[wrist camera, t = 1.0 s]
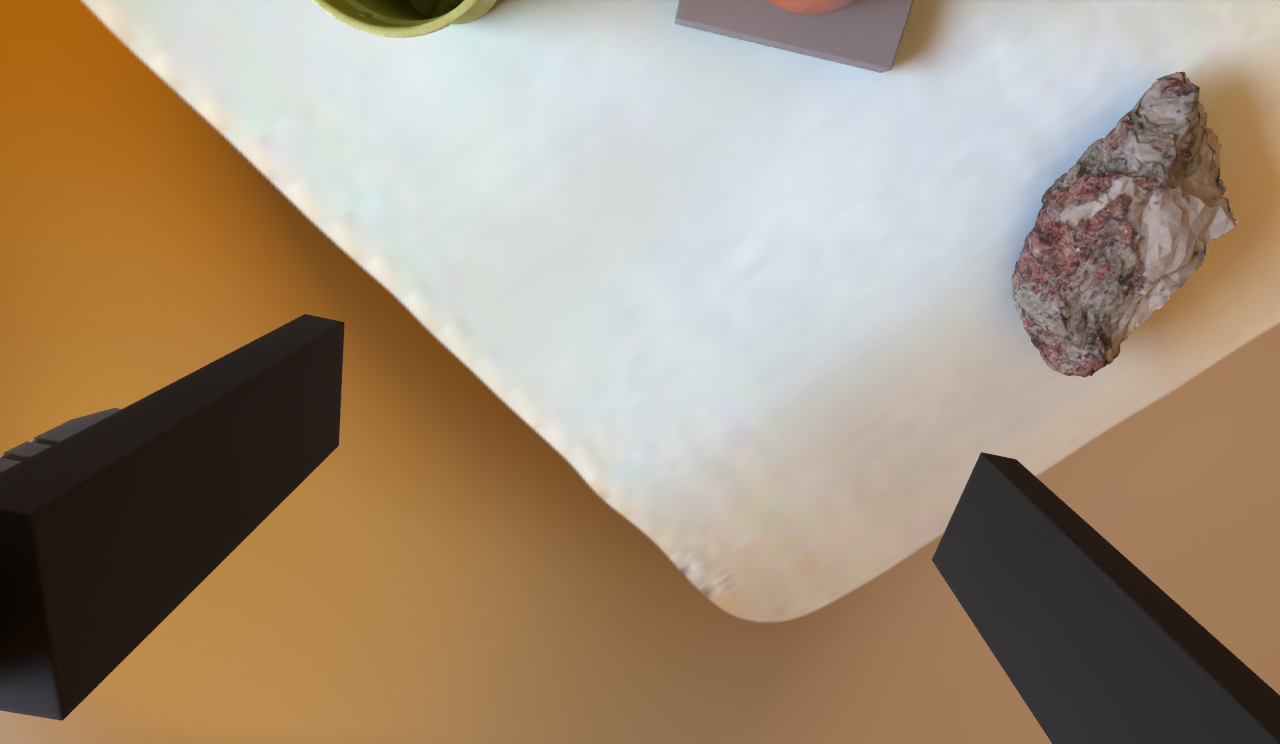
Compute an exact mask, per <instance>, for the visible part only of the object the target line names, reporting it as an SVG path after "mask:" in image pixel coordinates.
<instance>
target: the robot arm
mask: <svg viewBox="0 0 1280 744" xmlns="http://www.w3.org/2000/svg"><path fill="white" fill-rule="evenodd" d="M343 342H344V322H340V321H336V320H331V319H326V318H321V317H316V316H311V315H306V314H304V315H302V316H301V317H299V318H297V319H295V320H293V321H291V322H289V323H287V324H285V325H283V326H281V327H279V328H277V329H276V330H274V331H272V332H270V333H268V334H266V335H264V336H262V337H260V338H258V339H256V340H254V341H252V342H250V343H249V344H247V345H245V346H243V347H241V348H239V349H237V350H235V351H233V352H231V353H229V354H227V355H225V356H224V357H222V358H220V359H218V360H216V361H214V362H212V363H210V364H208V365H206V366H204V367H203V368H200V369H199V370H197V371H195V372H193V373H191V374H189V375H187V376H185V377H183V378H181V379H180V380H178V381H176V382H174V383H172V384H170V385H168V386H166V387H164V388H162V389H160V390H158V391H156V392H154V393H153V394H151V395H149V396H147V397H145V398H143V399H141V400H139V401H137V402H135V403H133V404H131V405H129V406H128V407H126V408H124V409H118V408H113V409H109V410H105V411H102V412H98V413H95V414H91V415H87V416H83V417H80V418H76V419H73V420H69V421H67V422H66V423H63V424H62V425H59V426H57V427H55V428H53V429H51V430H49V431H47V432H45V433H43V434H41V435H39V436H37V437H35V438H34V441H33V442H25V443H23V444H21V445H19V446H17V447H15V448H13V449H11V450H9V451H7V452H4V453H3V456H2V457H1V458H0V710H1V711H8V712H13V713H19V714H26V715H32V716H38V717H44V718H50V719H56V720H63V719H65V718H66V717H67V716H68V715H69V714H70V713H71V712H72V711H73V710H74V709H75V708H76V706H78V705H79V704H80V703H81V702H82V701H83V700H84V699H85V698H86V697H87V696H88V695H89V694H90V693H91V692H92V691H93V690H94V689H95V688H96V687H97V686H98V684H100V683H101V682H102V681H103V680H104V679H105V678H106V677H107V676H108V675H109V674H110V673H111V672H112V671H113V670H114V669H115V668H116V667H117V666H118V665H119V664H120V663H121V662H122V661H123V660H124V659H125V658H126V657H127V656H128V655H129V654H130V653H131V652H132V651H133V650H134V649H135V648H136V647H137V646H138V645H139V644H140V643H141V642H142V641H143V640H144V639H145V638H146V637H147V636H148V635H149V634H150V633H151V632H152V631H153V630H154V629H155V628H156V627H157V626H158V625H159V624H160V623H161V622H162V621H163V620H164V619H165V618H166V617H167V616H168V615H169V614H170V613H171V612H172V611H173V610H174V609H175V608H176V607H177V606H178V605H179V604H180V603H181V602H182V601H183V600H184V599H185V598H186V597H187V596H188V595H189V594H190V593H191V592H192V591H193V590H194V589H195V588H196V587H197V586H198V585H199V584H200V583H201V582H202V581H203V580H204V579H205V578H206V577H207V576H208V575H209V574H210V573H211V572H212V571H213V570H214V569H215V568H216V567H217V566H218V565H219V564H220V563H221V562H222V561H223V560H224V559H225V558H226V557H227V556H228V555H229V554H230V553H231V552H232V551H233V550H234V549H235V548H236V547H237V546H238V545H239V544H240V543H241V542H242V541H243V540H244V539H245V538H246V537H247V536H248V535H249V534H250V533H251V532H252V531H253V530H254V529H255V528H256V527H257V526H258V525H259V524H260V523H261V522H262V521H263V520H264V519H265V518H266V517H267V516H268V515H269V514H270V513H271V512H272V511H273V510H274V509H275V508H276V507H277V506H278V505H279V504H280V503H281V502H282V501H283V500H285V498H286V497H288V496H289V494H291V493H292V491H294V490H295V489H296V488H297V487H298V486H299V485H300V484H301V483H302V481H304V479H306V478H307V477H308V476H309V475H310V474H311V472H313V470H314V469H316V467H318V466H319V465H320V464H321V463H322V462H323V461H324V460H325V459H326V458H327V457H328V455H329V454H331V452H333V451H334V450H335V449H336V448H337V447H338V445H339V429H340V408H341V386H342V364H343ZM932 561H933V562H934V564H935V565H936V567H937V568H938V570H939V572H940V573H941V575H942V576H943V578H944V579H945V581H946V582H947V584H948V585H949V587H950V588H951V590H952V591H953V593H954V594H955V596H956V597H957V599H958V601H959V602H960V604H961V605H962V607H963V608H964V610H965V611H966V613H967V614H968V616H969V617H970V619H971V620H972V622H973V623H974V625H975V626H976V628H977V630H978V631H979V633H980V634H981V636H982V637H983V639H984V640H985V642H986V643H987V645H988V646H989V647H990V649H991V651H992V652H993V654H994V655H995V657H996V658H997V660H998V662H999V663H1000V664H1001V666H1002V668H1003V669H1004V671H1005V672H1006V674H1007V675H1008V677H1009V678H1010V680H1011V681H1012V683H1013V684H1014V686H1015V687H1016V689H1017V690H1018V692H1019V694H1020V695H1021V697H1022V698H1023V700H1024V701H1025V702H1026V704H1027V706H1028V707H1029V709H1030V710H1031V712H1032V713H1033V715H1034V716H1035V718H1036V719H1037V721H1038V723H1039V724H1040V726H1041V727H1042V729H1043V730H1044V732H1045V733H1046V735H1047V736H1048V738H1049V739H1050V741H1051V742H1052V744H1280V695H1278V694H1277V693H1276V692H1275V691H1274V690H1273V689H1272V688H1271V687H1269V686H1268V685H1267V684H1266V683H1265V682H1264V681H1263V680H1262V679H1261V678H1259V677H1258V676H1257V675H1256V674H1255V673H1254V672H1253V671H1252V670H1251V669H1249V668H1248V667H1247V666H1246V665H1245V664H1244V663H1243V662H1242V661H1240V660H1239V659H1238V658H1237V657H1236V656H1235V655H1234V654H1233V653H1232V652H1230V651H1229V650H1228V649H1227V648H1226V647H1225V646H1224V645H1223V644H1221V643H1220V642H1219V641H1218V640H1217V639H1216V638H1215V637H1214V636H1213V635H1211V634H1210V633H1209V632H1208V631H1207V630H1206V629H1205V628H1204V627H1203V626H1201V625H1200V624H1199V623H1198V622H1197V621H1196V620H1195V619H1194V618H1193V617H1191V616H1190V615H1189V614H1188V613H1187V612H1186V611H1185V610H1184V609H1182V608H1181V607H1180V606H1179V605H1178V604H1177V603H1176V602H1175V601H1174V600H1172V599H1171V598H1170V597H1169V596H1168V595H1167V594H1166V593H1165V592H1163V591H1162V590H1161V589H1160V588H1159V587H1158V586H1157V585H1156V584H1155V583H1153V582H1152V581H1151V580H1150V579H1149V578H1148V577H1147V576H1146V575H1145V574H1143V573H1142V572H1141V571H1140V570H1139V569H1138V568H1137V567H1135V566H1134V565H1133V564H1132V563H1131V562H1130V561H1129V560H1128V559H1127V558H1125V557H1124V556H1123V555H1122V554H1121V553H1120V552H1119V551H1118V550H1117V549H1115V548H1114V547H1113V546H1112V545H1111V544H1110V543H1109V542H1108V541H1107V540H1105V539H1104V538H1103V537H1102V536H1101V535H1100V534H1099V533H1098V532H1097V531H1095V530H1094V529H1093V528H1092V527H1091V526H1090V525H1089V524H1087V523H1086V522H1085V521H1084V520H1083V519H1082V518H1081V517H1080V516H1079V515H1077V514H1076V513H1075V512H1074V511H1073V510H1072V509H1071V508H1070V507H1068V506H1067V505H1066V504H1065V503H1064V502H1063V501H1062V500H1061V499H1060V498H1059V497H1057V496H1056V495H1055V494H1054V493H1053V492H1052V491H1051V490H1049V489H1048V488H1047V487H1046V486H1045V485H1044V484H1043V483H1042V482H1041V481H1039V480H1038V479H1037V478H1036V477H1035V476H1034V475H1033V474H1032V473H1031V472H1030V471H1028V470H1027V469H1026V468H1025V467H1024V466H1023V465H1022V464H1021V463H1020V462H1018V461H1017V460H1016V459H1011V458H1007V457H1002V456H997V455H992V454H987V453H982V452H981V454H980V456H979V458H978V460H977V463H976V465H975V467H974V469H973V471H972V473H971V476H970V478H969V480H968V482H967V484H966V487H965V489H964V491H963V493H962V495H961V497H960V500H959V502H958V504H957V506H956V508H955V511H954V513H953V515H952V517H951V519H950V521H949V524H948V526H947V528H946V530H945V532H944V535H943V537H942V539H941V541H940V543H939V546H938V548H937V550H936V552H935V554H934V557H933V559H932Z"/></svg>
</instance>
